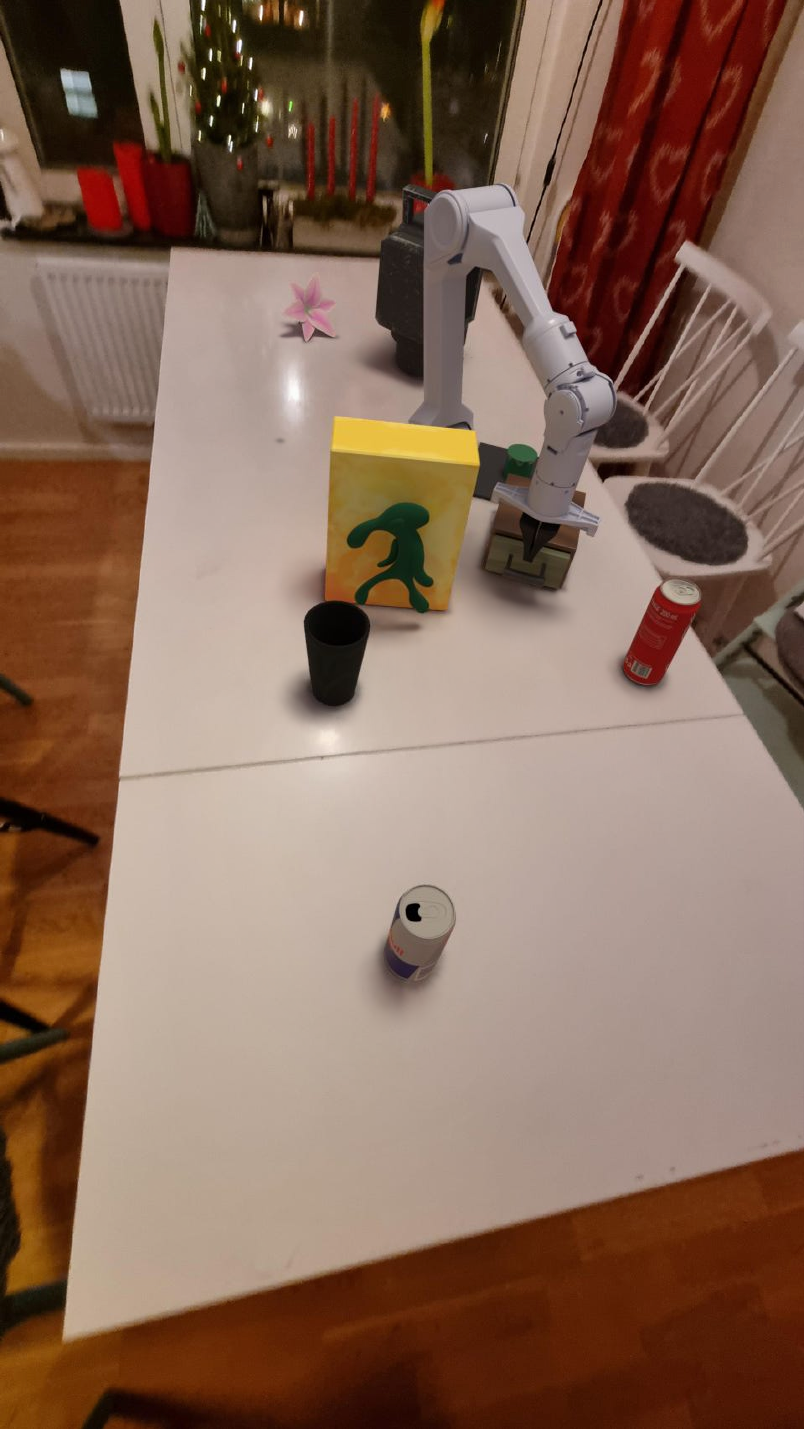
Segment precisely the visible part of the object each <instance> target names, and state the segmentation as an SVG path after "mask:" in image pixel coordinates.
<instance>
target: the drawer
mask: <svg viewBox="0 0 804 1429" xmlns="http://www.w3.org/2000/svg"><path fill="white" fill-rule="evenodd" d="M523 554H524V544H523V540H521V539H518V538H514V537H510V536H506V535H502V534H499V535H494V537H493V541H492V545H491V548H490V552H489V556H488V559H487V563H486V567H485V568H484V570H486V571H489V572H493V573H497V574H500V575H501V577H503V578H507V579H511V580H514V581H517V582H521V583H525V584H530V585H532V586H538V587H541V588H543V587H544V586H546V587H549V588H553V589H557V590H558V589H560V588H559V585H560V583H561V580H562V578H563V575H564V572H565V570H566V567H567V565H568V562H569V560H570V554H568V553H565V551H563V550H559V549H556V548H552V547H548V546H543V547H542V548H541V549H540V551H539V552H538V553H537V555H536V556H535V558H534V560H533V562H532V563H530V562H527V561H524V560H523Z"/></svg>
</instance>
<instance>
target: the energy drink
mask: <svg viewBox="0 0 804 1429" xmlns="http://www.w3.org/2000/svg"><path fill="white" fill-rule="evenodd" d="M456 922H457V912H456V908H455V903H454V901H453V899H452V898H451V896H450V895H449V894H448V893H447V892H446V891H445V890H444V889H442V888H441V887H439V886H437V885H435V884H430V883H422V884H421V883H420V884H417V885H414V886H412V887H410V888H409V889H407V890H406V891H405V892H404V893H402V895H401V896H400V898H399V899H398V901H397V904H396V907H395V911H394V913H393V917H392V920H391V924H390V928H389V931H388V935H387V938H386V942H385V945H384V950H383V958H384V959H383V960H384V963H385V965H386V968H387V969H388V971H389V972H390V973H391V974H392V975H393V976H394V977H395V978H396V979H399V980H401V981H404V982H406V983H415V982H416V983H417V982H420V981H422V980H425V979H427V978H428V977H429V976H430V975H431V974H432V973H433V971H434V970H435V968H436V966H437V964H438V961H439V960H440V958H441V956H442V954H443V951H444V949H445V947H446V946H447V943H448V941H449V939H450V938H451V935H452V933H453V931H454V928H455V927H456Z"/></svg>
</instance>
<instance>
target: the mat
mask: <svg viewBox="0 0 804 1429" xmlns="http://www.w3.org/2000/svg"><path fill="white" fill-rule="evenodd" d="M507 450H508V448H505V447H502V446H497V445H493V444H490V443H486V442H482V441H480V442H479V445H478V453H479V461H480V467H479V471H478V476H477V480H476V484H475V489H474V493H473V497H474V498H478V499H481V500H486V501H490V502H491V497H492V494H493V490H494V488H495V486H496V484H497V483H498V482H499V483H503V484H505V483H506V479H505V478H504V477H503V470H504V466H505V462H506V458H507ZM538 459H539V456H537V459H536V460H535V462H534V465H533V469H532V472H531V475H530V479H532V478H533V474H534V471H535V468H536V465H537V462H538Z"/></svg>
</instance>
